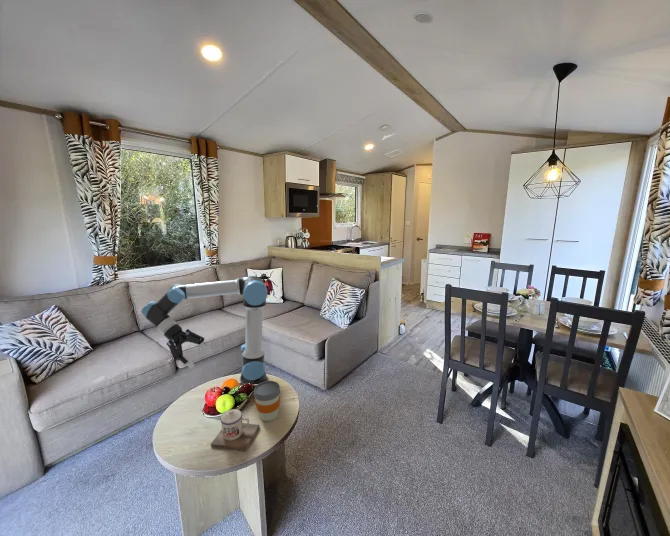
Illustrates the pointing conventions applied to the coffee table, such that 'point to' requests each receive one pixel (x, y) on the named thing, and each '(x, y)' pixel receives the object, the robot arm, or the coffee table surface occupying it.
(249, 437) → the walnut board
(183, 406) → the coffee table surface
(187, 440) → the coffee table surface
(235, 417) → the teacup with lid
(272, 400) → the reusable coffee cup
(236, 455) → the coffee table surface
